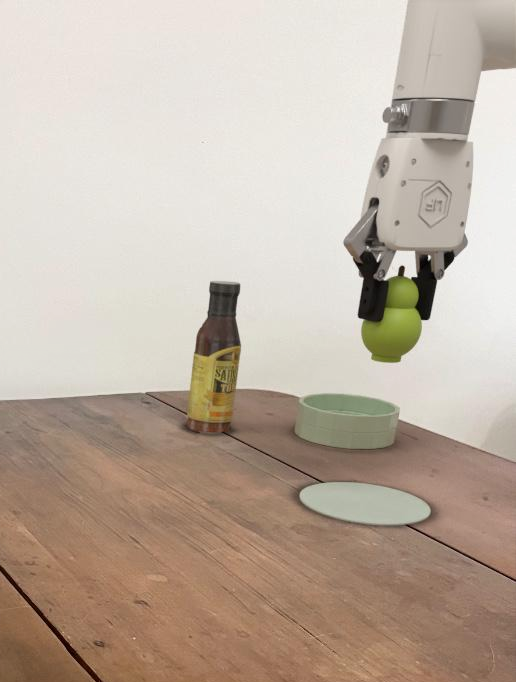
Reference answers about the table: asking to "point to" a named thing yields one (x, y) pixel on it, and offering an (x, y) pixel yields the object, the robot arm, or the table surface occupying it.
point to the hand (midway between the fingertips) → (393, 317)
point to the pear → (395, 322)
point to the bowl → (346, 421)
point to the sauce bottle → (215, 362)
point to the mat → (364, 503)
